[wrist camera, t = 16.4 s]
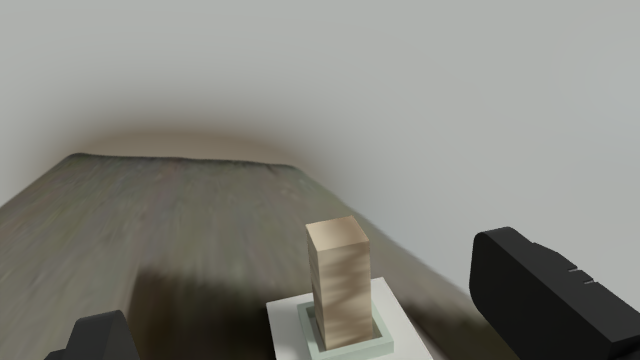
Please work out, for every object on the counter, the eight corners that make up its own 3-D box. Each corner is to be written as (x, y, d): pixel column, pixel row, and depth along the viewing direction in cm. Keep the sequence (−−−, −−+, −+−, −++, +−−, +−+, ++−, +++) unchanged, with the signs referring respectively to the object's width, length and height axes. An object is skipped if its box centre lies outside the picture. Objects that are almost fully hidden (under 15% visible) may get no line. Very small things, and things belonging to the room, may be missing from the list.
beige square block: (327, 356, 40) (317, 251, 35) (316, 322, 44) (305, 224, 39) (372, 344, 41) (369, 240, 36) (357, 312, 45) (352, 215, 40)
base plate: (287, 420, 36) (284, 400, 34) (267, 309, 48) (264, 292, 47) (439, 378, 38) (440, 358, 37) (382, 283, 50) (382, 266, 49)
